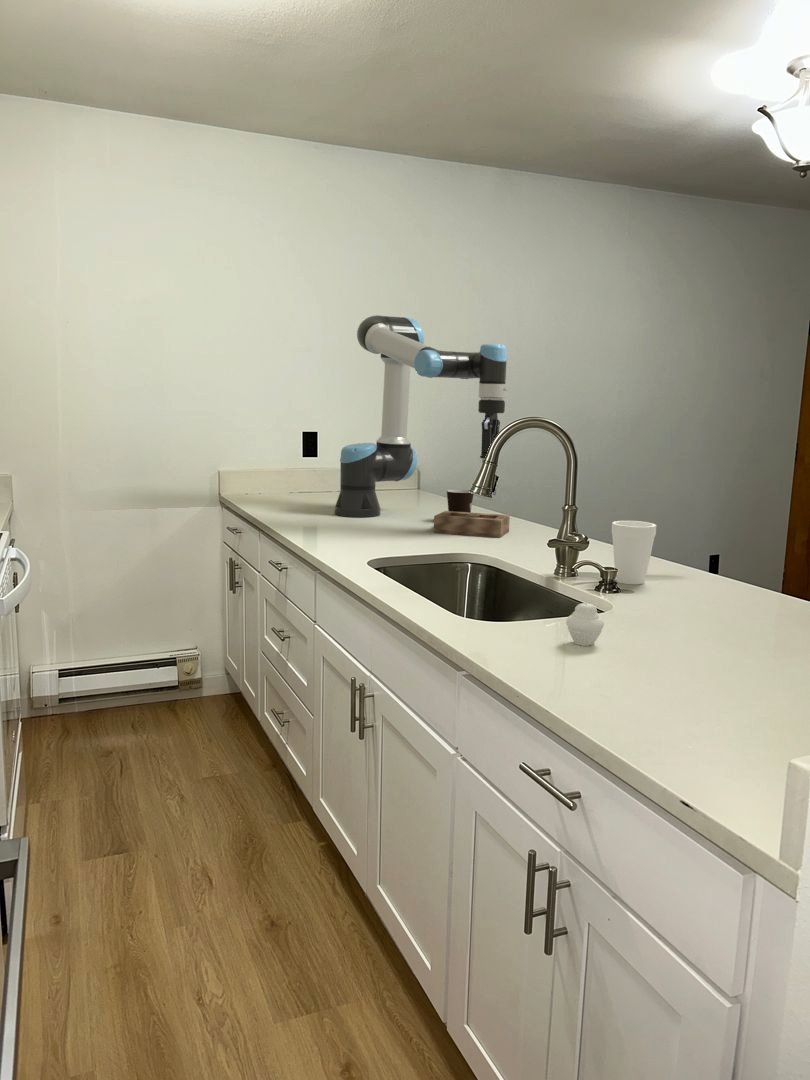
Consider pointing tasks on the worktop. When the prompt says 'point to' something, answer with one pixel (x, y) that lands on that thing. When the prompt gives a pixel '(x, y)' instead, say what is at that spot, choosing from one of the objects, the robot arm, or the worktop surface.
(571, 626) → the white lidded urn
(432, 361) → the robot arm
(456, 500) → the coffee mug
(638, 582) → the foam cup
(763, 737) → the worktop surface
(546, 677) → the worktop surface
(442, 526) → the socket block
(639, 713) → the worktop surface
